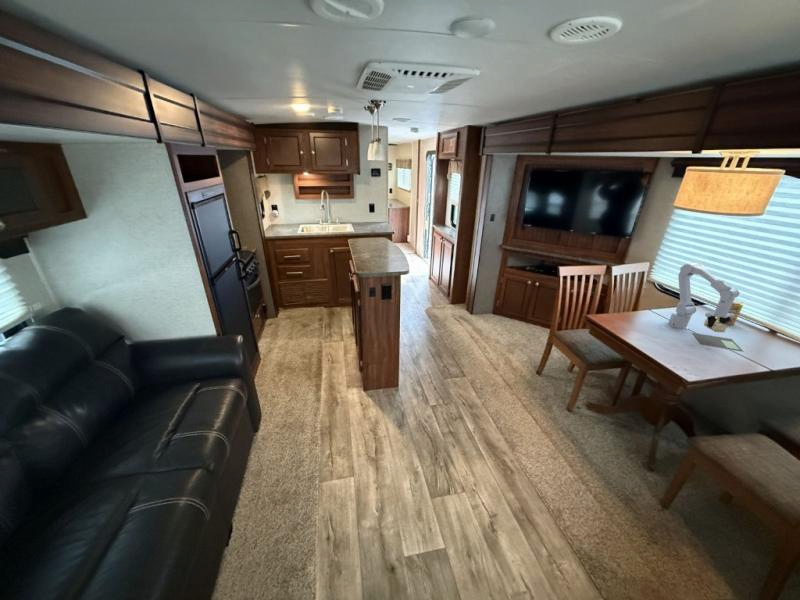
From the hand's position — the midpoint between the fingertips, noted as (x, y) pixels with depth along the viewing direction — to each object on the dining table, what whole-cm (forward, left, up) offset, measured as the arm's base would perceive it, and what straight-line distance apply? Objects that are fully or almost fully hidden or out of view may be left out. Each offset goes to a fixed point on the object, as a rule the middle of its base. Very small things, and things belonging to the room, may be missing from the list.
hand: (714, 327), depth 191 cm
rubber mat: (+3, -3, -9) cm, 10 cm away
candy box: (+19, +34, -9) cm, 40 cm away
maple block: (0, 0, -1) cm, 1 cm away
